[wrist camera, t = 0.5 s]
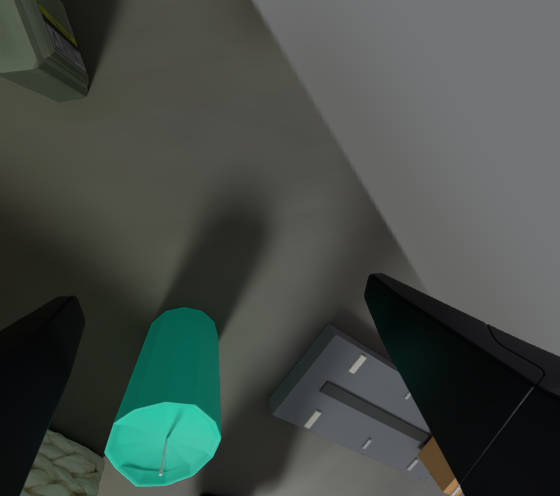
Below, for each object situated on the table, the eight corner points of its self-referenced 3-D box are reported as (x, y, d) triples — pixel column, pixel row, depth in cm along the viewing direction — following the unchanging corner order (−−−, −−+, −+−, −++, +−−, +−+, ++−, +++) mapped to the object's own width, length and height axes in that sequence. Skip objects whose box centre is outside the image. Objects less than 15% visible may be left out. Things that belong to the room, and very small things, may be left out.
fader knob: (429, 460, 34) (457, 499, 30) (416, 454, 33) (444, 494, 29) (451, 435, 34) (483, 471, 30) (439, 429, 33) (470, 465, 29)
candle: (197, 294, 25) (185, 405, 14) (229, 346, 27) (241, 479, 16) (132, 327, 24) (63, 469, 13) (169, 377, 26) (137, 537, 15)
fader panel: (414, 465, 38) (425, 482, 35) (268, 399, 29) (272, 416, 27) (464, 407, 37) (479, 422, 34) (328, 323, 28) (337, 335, 26)
